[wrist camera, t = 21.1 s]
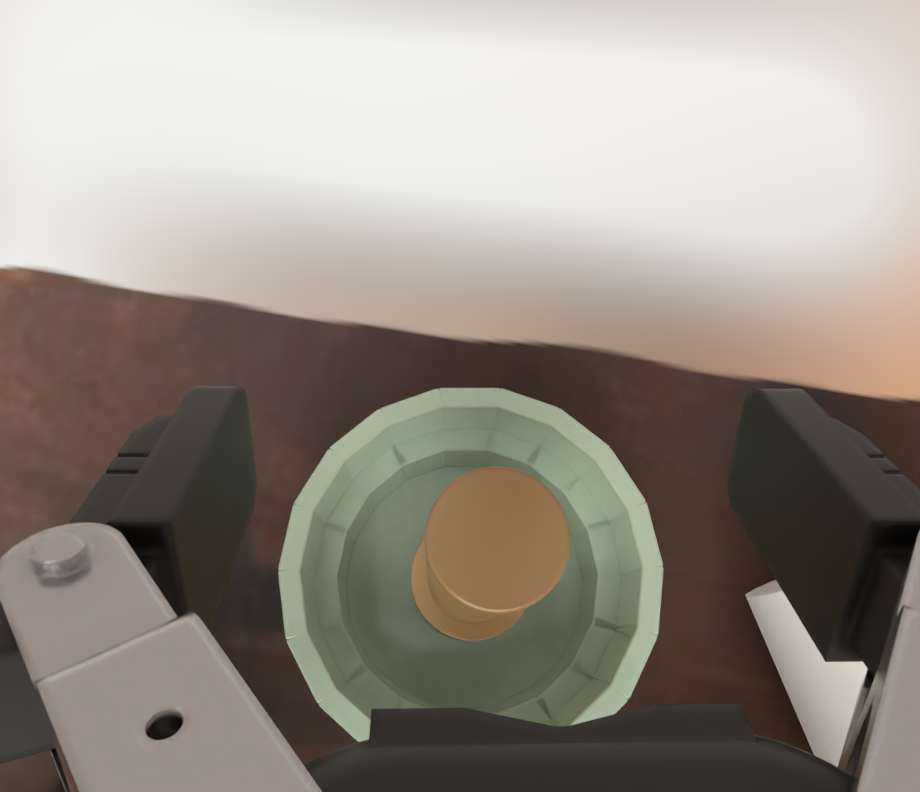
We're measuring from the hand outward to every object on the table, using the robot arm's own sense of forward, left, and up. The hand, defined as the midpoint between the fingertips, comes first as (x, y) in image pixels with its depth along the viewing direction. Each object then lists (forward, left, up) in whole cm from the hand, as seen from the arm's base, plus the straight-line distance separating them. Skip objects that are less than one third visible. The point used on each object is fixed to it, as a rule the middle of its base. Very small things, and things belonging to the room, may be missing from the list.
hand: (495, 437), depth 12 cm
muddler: (0, -1, -14) cm, 14 cm away
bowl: (0, -1, -14) cm, 14 cm away
